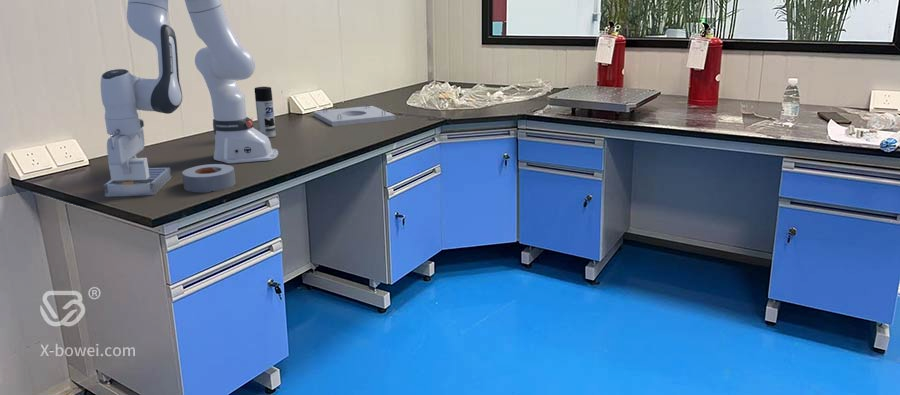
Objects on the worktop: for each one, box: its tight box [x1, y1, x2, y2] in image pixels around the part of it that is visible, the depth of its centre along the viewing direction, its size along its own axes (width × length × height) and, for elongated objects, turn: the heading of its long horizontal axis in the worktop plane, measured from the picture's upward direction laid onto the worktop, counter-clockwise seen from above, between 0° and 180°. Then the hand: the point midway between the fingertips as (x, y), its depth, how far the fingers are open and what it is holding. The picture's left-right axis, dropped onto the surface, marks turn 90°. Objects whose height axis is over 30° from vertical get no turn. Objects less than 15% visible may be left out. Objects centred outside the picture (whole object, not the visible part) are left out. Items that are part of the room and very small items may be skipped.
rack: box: [102, 167, 173, 198], centre depth 205 cm, size 14×18×4 cm
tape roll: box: [181, 163, 236, 193], centre depth 207 cm, size 15×15×5 cm
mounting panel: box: [312, 103, 396, 127], centre depth 307 cm, size 27×5×30 cm
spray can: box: [254, 86, 277, 139], centre depth 268 cm, size 7×7×20 cm
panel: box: [107, 157, 150, 181], centre depth 198 cm, size 10×3×6 cm, turn 96°
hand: (130, 172), depth 198 cm, fingers closed on panel, 3 cm apart
